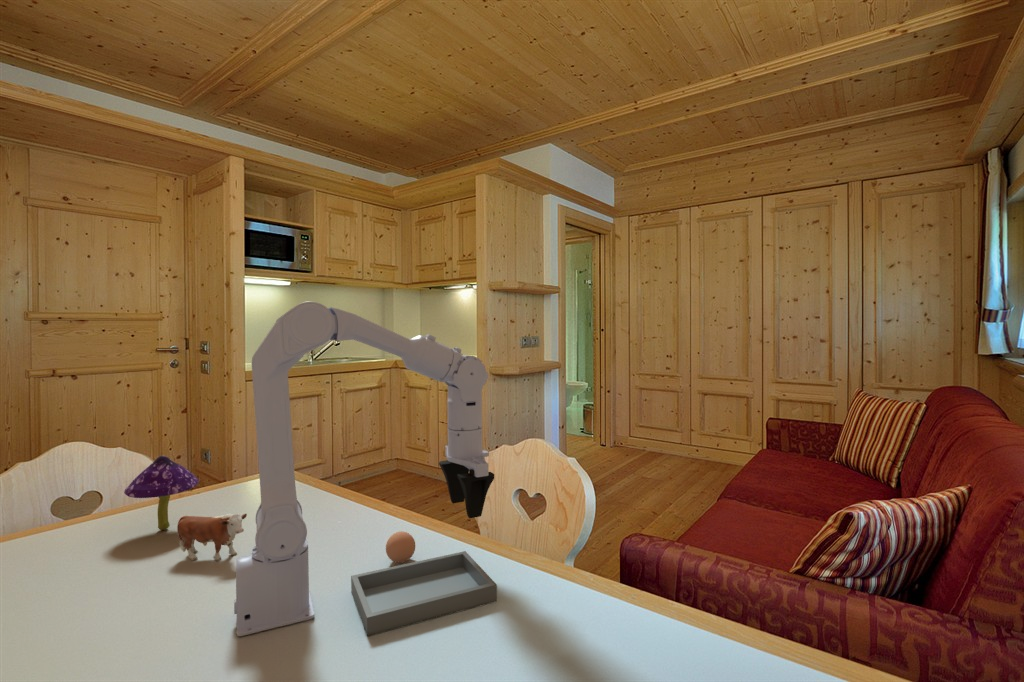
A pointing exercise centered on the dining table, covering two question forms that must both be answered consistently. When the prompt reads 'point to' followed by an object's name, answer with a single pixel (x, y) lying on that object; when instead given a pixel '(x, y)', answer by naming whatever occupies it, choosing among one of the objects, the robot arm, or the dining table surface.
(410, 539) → the ball
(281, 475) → the robot arm
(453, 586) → the walled pen
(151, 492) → the decorative mushroom
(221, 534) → the bull figurine
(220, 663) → the dining table surface
